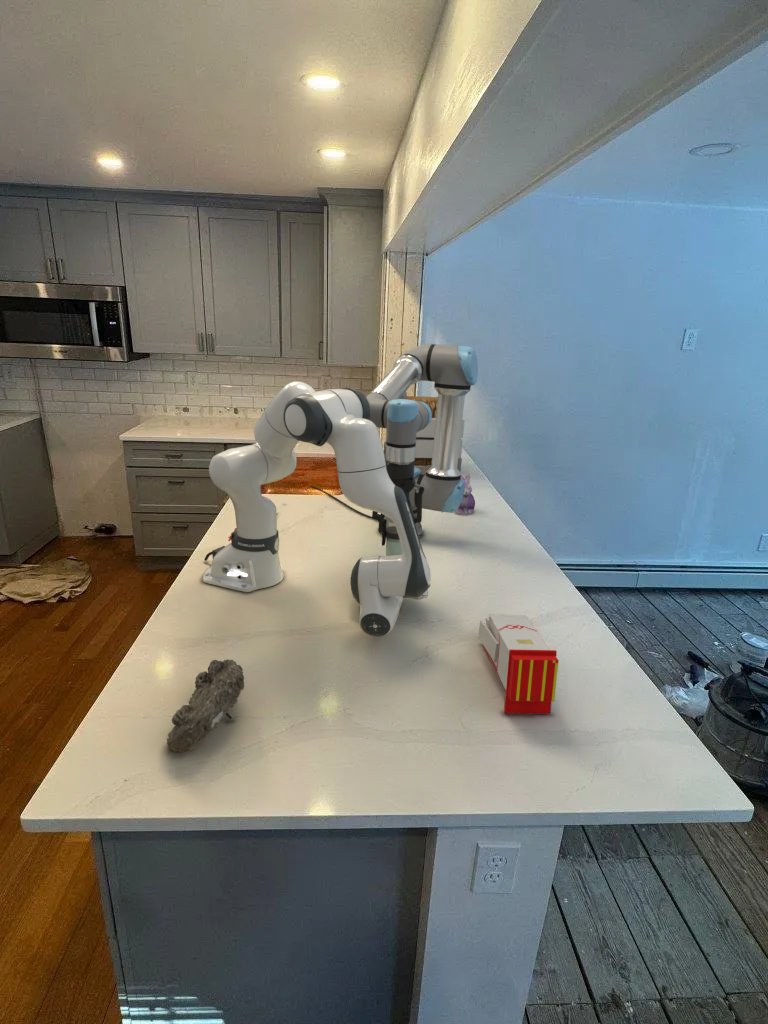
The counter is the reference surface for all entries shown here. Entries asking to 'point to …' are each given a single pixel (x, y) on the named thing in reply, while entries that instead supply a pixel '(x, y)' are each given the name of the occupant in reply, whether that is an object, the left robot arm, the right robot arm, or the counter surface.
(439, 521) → the counter surface
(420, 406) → the right robot arm
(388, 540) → the pale green bottle
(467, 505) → the figurine
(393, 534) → the lid
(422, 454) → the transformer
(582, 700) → the counter surface
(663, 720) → the counter surface
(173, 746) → the fossil
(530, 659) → the toy
